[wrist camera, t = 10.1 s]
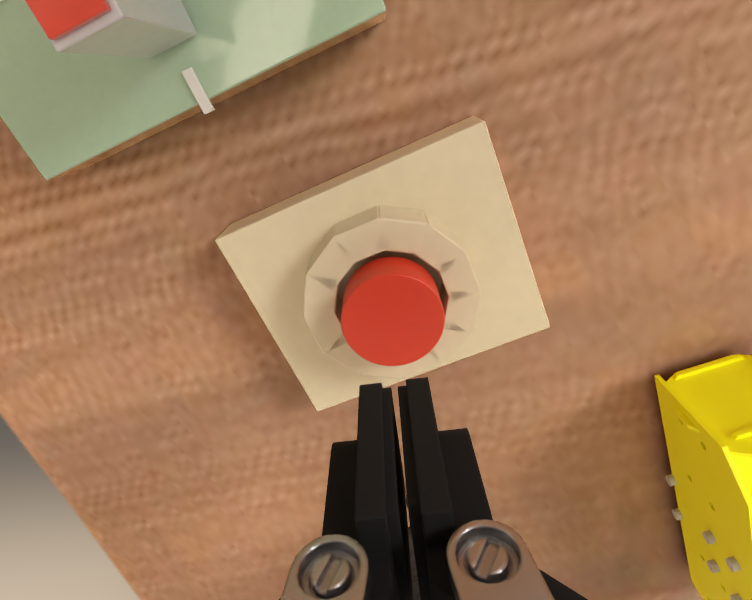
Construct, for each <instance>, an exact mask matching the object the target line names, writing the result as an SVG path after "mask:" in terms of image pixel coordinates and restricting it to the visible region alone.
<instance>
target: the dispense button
mask: <svg viewBox="0 0 752 600" xmlns="http://www.w3.org/2000/svg"><path fill="white" fill-rule="evenodd" d="M444 323H445V314H444V308H443V305H442V302H441V299H440V295H439V292H438V289H437V286H436V283H435V281H434V279H433V278H432V276H431V275H430V274H429V272H428V271H427V270H426V269H424V268H423V267H422V266H421V265H419V264H417V263H416V262H414V261H411V260H409V259H406V258H401V257H383V258H378V259H375V260H372V261H370V262H368V263H366V264H364V265H363V266H361V267H360V268H359V269H358V270H357V271H356V272H355V273H354V274H353V275H352V276H351V278H350V279H349V281H348V283H347V285H346V288H345V291H344V297H343V305H342V313H341V328H342V332H343V335H344V337H345V340H346V341H347V343H348V345H349V346H350V347H351V348H352V350H353V351H355V352H356V353H357V354H358V355H359V356H361V357H362V358H364V359H365V360H367V361H369V362H372V363H375V364H378V365H384V366H400V365H406V364H409V363H412V362H414V361H417V360H419V359H420V358H422V357H424V356H425V355H426V354H428V353H429V352H430V351H431V350H432V349H433V348H434V347H435V345H436V344H437V343H438V341H439V339H440V337H441V335H442V333H443V329H444Z"/></svg>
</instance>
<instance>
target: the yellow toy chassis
mask: <svg viewBox="0 0 752 600" xmlns="http://www.w3.org/2000/svg"><path fill="white" fill-rule="evenodd" d="M654 377H655V383H656V388H657V394H658V399H659V405H660V410H661V416H662V421H663V427H664V432H665V438H666V443H667V449H668V455H669V460H670V466H671V471H672V474H669V475H666V476H665V478H666V481H667V483H668V484H669V486H674V488H675V493H676V499H677V504H678V508H676V509H673V510H672V514H673V516H674V517H675V519H676V520H680V521H681V526H682V532H683V537H684V543H685V548H686V554H687V559H688V565H689V571H690V576H691V581H692V582H693V584H694V586H695V587H696V589H697V590H698V592H699V593H700V595H701V597H702V598H703V600H752V355H740V354H736V355H730V356H727V357H723V358H720V359H717V360H714V361H710V362H707V363H704V364H701V365H697V366H694V367H691V368H688V369H684V370H681V371H678V372H675V373H674V374H673V375H672V376H671V377H670V378H669V379H668V380H667V381H665V380H664V379H663V378H662V377H661V376H660V375H659V374H658V375H655V376H654Z"/></svg>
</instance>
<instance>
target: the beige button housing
mask: <svg viewBox="0 0 752 600" xmlns="http://www.w3.org/2000/svg"><path fill="white" fill-rule="evenodd" d="M215 242H216V243H217V245H218V247H219V248H220V250H221V252H222V253H223V255H224V257H225V258H226V260H227V262H228V263H229V265H230V267H231V268H232V270H233V272H234V273H235V275H236V277H237V278H238V280H239V282H240V283H241V285H242V287H243V288H244V290H245V292H246V293H247V295H248V297H249V298H250V300H251V302H252V303H253V305H254V307H255V308H256V310H257V312H258V313H259V315H260V317H261V318H262V320H263V322H264V323H265V325H266V327H267V328H268V330H269V332H270V333H271V335H272V337H273V338H274V340H275V342H276V343H277V345H278V347H279V348H280V350H281V352H282V353H283V355H284V357H285V358H286V360H287V362H288V363H289V365H290V367H291V368H292V370H293V372H294V373H295V375H296V377H297V378H298V380H299V382H300V383H301V385H302V387H303V388H304V390H305V392H306V393H307V395H308V397H309V398H310V400H311V402H312V403H313V405H314V407H315V408H316V410H317V411H321V410H323V409H326V408H329V407H332V406H334V405H337V404H340V403H343V402H345V401H348V400H351V399H354V398H356V397H359V386H360V385H365V384H373V383H382V386H383V388H384V387H387V386H390V385H392V384H395V383H398V382H401V381H403V380H406V379H409V378H412V377H414V376H417V375H420V374H423V373H425V372H428V371H431V370H434V369H436V368H439V367H442V366H445V365H447V364H450V363H453V362H456V361H458V360H461V359H464V358H467V357H469V356H472V355H475V354H478V353H480V352H483V351H486V350H489V349H491V348H494V347H497V346H500V345H502V344H505V343H508V342H511V341H513V340H516V339H519V338H522V337H524V336H527V335H530V334H533V333H535V332H538V331H541V330H544V329H546V328H549V327H550V324H549V321H548V318H547V315H546V312H545V309H544V305H543V302H542V299H541V296H540V293H539V290H538V286H537V283H536V280H535V277H534V274H533V271H532V268H531V264H530V261H529V258H528V255H527V252H526V249H525V246H524V242H523V239H522V236H521V233H520V230H519V227H518V224H517V220H516V217H515V214H514V211H513V208H512V205H511V202H510V198H509V195H508V192H507V189H506V186H505V183H504V180H503V176H502V173H501V170H500V167H499V164H498V161H497V158H496V154H495V151H494V148H493V145H492V142H491V139H490V136H489V132H488V129H487V126H486V123H485V121H484V120H481V119H479V118H476V117H474V116H471V117H469V118H466V119H464V120H462V121H460V122H457V123H455V124H453V125H451V126H448V127H446V128H444V129H442V130H440V131H437V132H435V133H433V134H431V135H428V136H426V137H424V138H422V139H419V140H417V141H415V142H413V143H410V144H408V145H406V146H404V147H402V148H399V149H397V150H395V151H393V152H390V153H388V154H386V155H384V156H381V157H379V158H377V159H375V160H372V161H370V162H368V163H366V164H364V165H361V166H359V167H357V168H355V169H352V170H350V171H348V172H346V173H343V174H341V175H339V176H337V177H335V178H332V179H330V180H328V181H326V182H323V183H321V184H319V185H317V186H314V187H312V188H310V189H308V190H305V191H303V192H301V193H299V194H297V195H294V196H292V197H290V198H288V199H285V200H283V201H281V202H279V203H276V204H274V205H272V206H270V207H267V208H265V209H263V210H261V211H259V212H256V213H254V214H252V215H250V216H247V217H245V218H243V219H241V220H238V221H236V222H234V223H232V224H230V225H229V226H228V227H227V228H226V229H225V230H224V231H223V232H222V233H221V234H220V235H219V236H218V238H217V239H216V240H215ZM383 257H401V258H406V259H409V260H411V261H414V262H416V263H417V264H419V265H421V266H422V267H423V268H424V269H426V270H427V271H428V272H429V274H430V275H431V276H432V278H433V279H434V281H435V283H436V286H437V289H438V292H439V295H440V299H441V302H442V305H443V308H444V314H445V323H444V329H443V333H442V335H441V337H440V339H439V341H438V343H437V344H436V345H435V347H434V348H433V349H432V350H431V351H430V352H429V353H428V354H426V355H425V356H424V357H422V358H420V359H419V360H417V361H414V362H412V363H409V364H406V365H400V366H384V365H378V364H375V363H372V362H369V361H367V360H365V359H364V358H362V357H361V356H359V355H358V354H357V353H356V352H355V351H353V350H352V348H351V347H350V346H349V345H348V343H347V341H346V340H345V337H344V335H343V332H342V328H341V313H342V305H343V297H344V291H345V288H346V285H347V283H348V281H349V279H350V278H351V276H352V275H353V274H354V273H355V272H356V271H357V270H358V269H359V268H360V267H361V266H363V265H364V264H366V263H368V262H370V261H372V260H375V259H378V258H383Z"/></svg>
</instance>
